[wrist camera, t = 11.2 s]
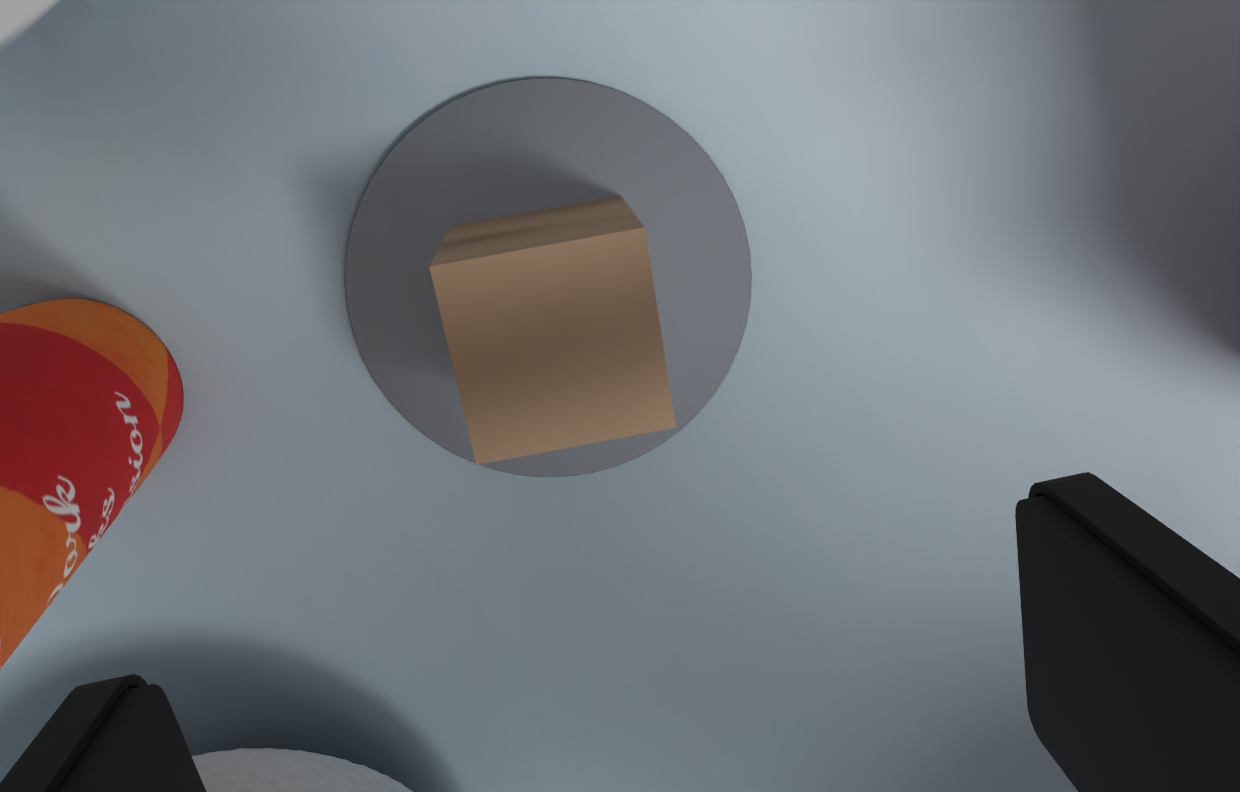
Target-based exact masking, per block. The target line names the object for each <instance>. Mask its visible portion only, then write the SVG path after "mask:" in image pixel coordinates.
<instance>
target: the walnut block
mask: <svg viewBox="0 0 1240 792" xmlns="http://www.w3.org/2000/svg"><path fill="white" fill-rule="evenodd" d="M429 267H430V272H431V276H432V280H433V284H434V289H435V293H436V297H437V301H438V305H439V310H440V314H441V318H442V322H443V327H444V331H445V335H446V339H447V343H448V348H449V352H450V356H451V360H452V365H453V369H454V373H455V377H456V381H457V386H458V390H459V394H460V398H461V402H462V407H463V411H464V415H465V419H466V424H467V428H468V432H469V436H470V440H471V445H472V449H473V453H474V457H475V462H476V465H479V464H485V463H490V462H495V461H501V460H506V459H511V458H516V457H522V456H527V455H532V454H538V453H543V452H548V451H554V450H559V449H564V448H569V447H575V446H580V445H585V444H591V443H596V442H601V441H606V440H612V439H617V438H622V437H628V436H633V435H638V434H644V433H649V432H654V431H659V430H665V429H670V428H675V427H676V423H675V417H674V411H673V404H672V398H671V392H670V385H669V379H668V372H667V366H666V360H665V353H664V347H663V341H662V334H661V328H660V321H659V315H658V309H657V302H656V296H655V290H654V283H653V277H652V270H651V264H650V258H649V251H648V245H647V239H646V232H645V227H644V226H643V224H642V223H641V222H640V220H639V219H638V218H637V216H636V215H635V214H634V212H633V211H632V209H631V208H630V207H629V205H628V204H627V203H626V201H625V200H624V199H623V197H622V196H621V195H620V196H615V197H609V198H604V199H598V200H593V201H587V202H581V203H576V204H570V205H565V206H559V207H554V208H548V209H543V210H537V211H532V212H526V213H521V214H515V215H510V216H504V217H499V218H493V219H487V220H482V221H476V222H471V223H465V224H460V225H454V226H450V228H449V230H448V231H447V233H446V235H445V237H444V239H443V241H442V243H441V245H440V247H439V249H438V251H437V253H436V255H435V257H434V259H433V260H432V262H431V264H430V266H429Z"/></svg>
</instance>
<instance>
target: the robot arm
mask: <svg viewBox="0 0 1240 792" xmlns="http://www.w3.org/2000/svg"><path fill="white" fill-rule="evenodd" d="M1015 516H1016V532H1017V548H1018V564H1019V580H1020V596H1021V612H1022V628H1023V644H1024V660H1025V676H1026V692H1027V705H1028V712H1029V716H1030V719H1031V722H1032V725H1033V728H1034V730H1035V732H1036V734H1037V736H1038V738H1039V739H1040V741H1041V742H1042V744H1043V745H1044V747H1045V748H1046V749H1047V750H1048V752H1049V753H1050V754H1051V756H1052V757H1053V758H1054V760H1055V761H1056V762H1057V764H1058V765H1059V766H1060V768H1061V769H1062V770H1063V772H1064V773H1065V774H1066V776H1067V777H1068V778H1069V780H1070V781H1071V782H1072V784H1073V785H1074V786H1075V788H1076V789H1077V790H1078V792H1240V578H1238V577H1237V576H1235V575H1234V574H1233V573H1231V572H1230V571H1228V570H1227V569H1226V568H1224V567H1223V566H1221V565H1220V564H1219V563H1217V562H1216V561H1214V560H1213V559H1212V558H1210V557H1209V556H1207V555H1206V554H1205V553H1203V552H1202V551H1200V550H1199V549H1198V548H1196V547H1195V546H1193V545H1192V544H1191V543H1189V542H1188V541H1186V540H1185V539H1184V538H1182V537H1181V536H1179V535H1178V534H1177V533H1175V532H1174V531H1172V530H1171V529H1170V528H1168V527H1167V526H1165V525H1164V524H1163V523H1161V522H1160V521H1158V520H1157V519H1156V518H1154V517H1153V516H1151V515H1150V514H1148V513H1147V512H1146V511H1144V510H1143V509H1141V508H1140V507H1139V506H1137V505H1136V504H1134V503H1133V502H1132V501H1130V500H1129V499H1127V498H1126V497H1125V496H1123V495H1122V494H1120V493H1119V492H1118V491H1116V490H1115V489H1113V488H1112V487H1111V486H1109V485H1108V484H1106V483H1105V482H1104V481H1102V480H1101V479H1099V478H1098V477H1097V476H1095V475H1093V474H1091V473H1089V472H1087V473H1081V474H1076V475H1071V476H1067V477H1062V478H1057V479H1052V480H1048V481H1043V482H1038V483H1034V485H1033V486H1032V487H1031V489H1030V492H1029V498H1027V499H1023V500H1020V501H1019V502H1018V503H1017V506H1016V515H1015ZM0 792H206V789H205V787H204V785H203V782H202V780H201V778H200V775H199V773H198V770H197V768H196V766H195V763H194V761H193V758H192V756H191V754H190V751H189V749H188V746H187V744H186V742H185V739H184V737H183V735H182V732H181V730H180V727H179V725H178V723H177V720H176V718H175V715H174V713H173V711H172V708H171V706H170V704H169V701H168V699H167V696H166V695H165V693H164V691H163V689H162V688H161V687H160V686H158V685H156V684H150V685H148V684H147V683H146V681H144V680H143V679H142V678H141V677H140V676H138V675H134V674H132V675H127V676H122V677H118V678H113V679H108V680H104V681H99V682H94V683H89V684H85V685H81V686H77V687H76V688H75V689H74V690H73V691H72V692H70V694H69V695H68V696H67V698H66V699H65V700H64V701H63V703H62V704H61V705H60V707H59V708H58V709H57V710H56V712H55V713H54V714H53V716H52V717H51V718H50V719H49V721H48V722H47V723H46V725H45V726H44V727H43V729H42V730H41V731H40V732H39V734H38V735H37V736H36V738H35V739H34V740H33V741H32V743H31V744H30V745H29V747H28V748H27V749H26V750H25V752H24V753H23V754H22V756H21V757H20V758H19V760H18V761H17V762H16V763H15V765H14V766H13V767H12V769H11V770H10V771H9V772H8V774H7V775H6V776H5V778H4V779H3V780H2V781H1V783H0Z"/></svg>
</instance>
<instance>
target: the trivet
mask: <svg viewBox="0 0 1240 792" xmlns="http://www.w3.org/2000/svg"><path fill="white" fill-rule="evenodd" d="M620 195H621V196H622V197H623V199H624V200H625V201H626V203H627V204H628V205H629V207H630V208H631V209H632V211H633V212H634V214H635V215H636V216H637V218H638V219H639V220H640V222H641V223H642V224H643V226H644V227H645V232H646V239H647V245H648V251H649V258H650V264H651V270H652V277H653V283H654V290H655V296H656V302H657V309H658V315H659V321H660V328H661V334H662V341H663V347H664V353H665V360H666V366H667V372H668V379H669V385H670V392H671V398H672V404H673V411H674V417H675V423H676V427H675V428H670V429H665V430H659V431H654V432H649V433H644V434H638V435H633V436H628V437H622V438H617V439H612V440H606V441H601V442H596V443H591V444H585V445H580V446H575V447H569V448H564V449H559V450H554V451H548V452H543V453H538V454H532V455H527V456H522V457H516V458H511V459H506V460H501V461H495V462H490V463H485V464H479V465H482V466H485V467H488V468H491V469H494V470H498V471H502V472H507V473H512V474H517V475H525V476H536V477H564V476H574V475H580V474H587V473H593V472H597V471H600V470H604V469H607V468H611V467H615V466H618V465H620V464H622V463H625V462H627V461H630V460H632V459H635V458H637V457H639V456H641V455H643V454H645V453H646V452H648V451H650V450H652V449H654V448H655V447H657V446H659V445H661V444H662V443H663V442H665V441H666V440H667V439H669V438H670V437H672V436H673V435H674V434H676V433H677V432H678V431H680V430H681V429H682V428H683V427H684V426H685V425H686V424H687V423H688V422H689V421H690V420H691V419H693V418H694V417H695V416H696V415H697V414H698V413H699V412H700V410H701V409H702V408H703V407H704V406H705V404H706V403H707V402H708V401H709V399H710V398H711V397H712V396H713V395H714V393H715V392H716V390H717V389H718V387H719V385H720V384H721V382H722V381H723V379H724V377H725V376H726V374H727V373H728V371H729V368H730V366H731V364H732V362H733V360H734V358H735V356H736V353H737V351H738V349H739V346H740V343H741V339H742V336H743V333H744V330H745V327H746V322H747V316H748V311H749V305H750V297H751V277H752V275H751V262H750V250H749V245H748V241H747V236H746V231H745V227H744V223H743V220H742V218H741V215H740V212H739V209H738V206H737V204H736V201H735V199H734V197H733V195H732V193H731V191H730V189H729V187H728V185H727V183H726V181H725V179H724V177H723V176H722V174H721V173H720V171H719V170H718V169H717V167H716V166H715V164H714V163H713V161H712V160H711V159H710V157H709V156H708V154H707V153H706V152H705V151H704V150H703V149H702V148H701V147H700V146H699V145H698V143H697V142H696V141H695V140H694V139H693V138H692V137H691V136H690V135H689V134H688V133H687V132H686V131H684V130H683V129H682V128H681V127H680V126H678V125H677V124H676V123H675V122H674V121H672V120H671V119H670V118H669V117H667V116H666V115H664V114H663V113H661V112H659V111H658V110H656V109H654V108H653V107H651V106H650V105H648V104H646V103H645V102H643V101H641V100H638V99H636V98H634V97H632V96H629V95H627V94H625V93H622V92H620V91H618V90H614V89H611V88H607V87H604V86H600V85H597V84H593V83H589V82H582V81H575V80H568V79H527V80H520V81H512V82H505V83H502V84H498V85H495V86H491V87H488V88H484V89H480V90H477V91H475V92H473V93H471V94H468V95H466V96H464V97H461V98H459V99H457V100H455V101H452V102H451V103H449V104H447V105H446V106H444V107H443V108H441V109H439V110H438V111H436V112H434V113H433V114H431V115H429V116H428V117H427V118H426V119H424V120H423V121H422V122H421V123H420V124H418V125H417V126H416V127H415V128H413V129H412V130H411V131H410V132H409V133H407V134H406V135H405V137H404V138H403V139H402V140H401V141H400V142H399V143H398V144H397V145H396V146H395V147H394V149H393V150H392V151H391V152H390V153H389V154H388V155H387V157H386V158H385V160H384V161H383V163H382V164H381V165H380V167H379V168H378V170H377V171H376V173H375V174H374V176H373V177H372V179H371V181H370V183H369V185H368V187H367V189H366V191H365V193H364V195H363V197H362V199H361V201H360V204H359V207H358V210H357V213H356V216H355V219H354V222H353V225H352V228H351V233H350V238H349V244H348V249H347V255H346V277H345V284H346V295H347V306H348V311H349V316H350V320H351V324H352V329H353V333H354V336H355V339H356V341H357V344H358V347H359V349H360V352H361V355H362V357H363V359H364V361H365V363H366V365H367V367H368V369H369V371H370V372H371V374H372V376H373V378H374V380H375V382H376V383H377V384H378V386H379V387H380V389H381V390H382V391H383V393H384V394H385V396H386V397H387V398H388V400H389V401H390V402H391V404H392V405H393V406H394V407H395V408H396V409H397V410H398V411H399V412H400V413H401V414H402V415H403V417H404V418H405V419H406V420H407V421H408V422H410V423H411V424H412V425H413V426H414V427H416V428H417V429H418V430H419V431H420V432H421V433H423V434H424V435H425V436H426V437H428V438H429V439H431V440H432V441H434V442H435V443H437V444H438V445H440V446H442V447H443V448H445V449H446V450H448V451H450V452H452V453H454V454H456V455H458V456H460V457H462V458H464V459H466V460H468V461H470V462H473V463H476V462H475V457H474V453H473V449H472V445H471V440H470V436H469V432H468V428H467V424H466V419H465V415H464V411H463V407H462V402H461V398H460V394H459V390H458V386H457V381H456V377H455V373H454V369H453V365H452V360H451V356H450V352H449V348H448V343H447V339H446V335H445V331H444V327H443V322H442V318H441V314H440V310H439V305H438V301H437V297H436V293H435V289H434V284H433V280H432V276H431V272H430V267H429V266H430V264H431V262H432V260H433V259H434V257H435V255H436V253H437V251H438V249H439V247H440V245H441V243H442V241H443V239H444V237H445V235H446V233H447V231H448V230H449V228H450V226H454V225H460V224H465V223H471V222H476V221H482V220H487V219H493V218H499V217H504V216H510V215H515V214H521V213H526V212H532V211H537V210H543V209H548V208H554V207H559V206H565V205H570V204H576V203H581V202H587V201H593V200H598V199H604V198H609V197H615V196H620Z"/></svg>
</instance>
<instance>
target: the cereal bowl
mask: <svg viewBox="0 0 1240 792" xmlns="http://www.w3.org/2000/svg"><path fill="white" fill-rule="evenodd" d="M192 758H193V761H194V763H195V766H196V768H197V770H198V773H199V775H200V778H201V780H202V782H203V785H204V787H205V789H206V792H413V791H411V790H409V789H408V788H406V787H405V786H404V785H403V784H402V783H401V782H397V781H395V780H393V779H391V778H390V777H389V776H387V775H384V774H381V773H379V772H378V771H376V770H372V769H370V768H368V767H366V766H365V765H359V764H354V763H351V762H350V761H348V760H346V759H339V758H336V757H333V756H327V755H321V754H318V753H309V752H305V751H302V750H288V749H273V748H263V749H253V748H251V749H244V748H239V749H235V750H231V751H217V752H209V753H206V754H202V755H197V756H192Z"/></svg>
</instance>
